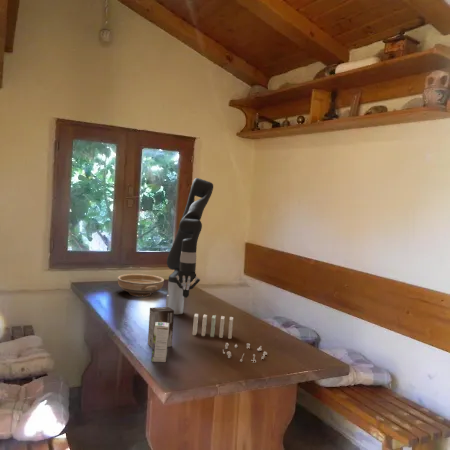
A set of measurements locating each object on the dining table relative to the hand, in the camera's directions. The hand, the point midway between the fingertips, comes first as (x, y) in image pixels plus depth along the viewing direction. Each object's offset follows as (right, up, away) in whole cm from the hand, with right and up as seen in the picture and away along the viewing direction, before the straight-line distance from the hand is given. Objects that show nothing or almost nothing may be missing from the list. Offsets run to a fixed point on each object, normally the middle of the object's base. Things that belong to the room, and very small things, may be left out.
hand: (185, 297), depth 228 cm
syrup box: (-8, -20, -36) cm, 42 cm away
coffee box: (-10, -18, -19) cm, 28 cm away
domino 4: (+17, -19, 0) cm, 25 cm away
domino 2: (+8, -18, +1) cm, 20 cm away
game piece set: (+27, -22, -22) cm, 41 cm away
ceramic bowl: (-34, -9, +72) cm, 80 cm away
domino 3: (+13, -18, +1) cm, 22 cm away
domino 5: (+21, -19, 0) cm, 28 cm away
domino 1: (+4, -17, +1) cm, 18 cm away
